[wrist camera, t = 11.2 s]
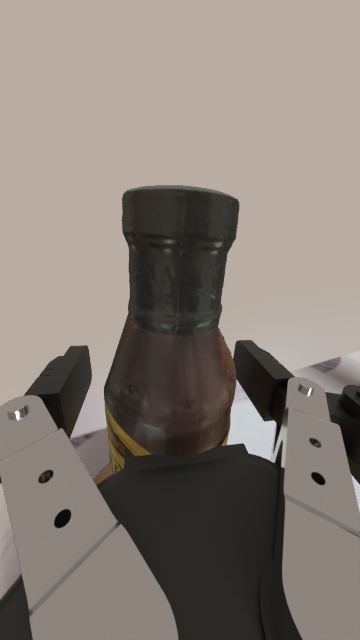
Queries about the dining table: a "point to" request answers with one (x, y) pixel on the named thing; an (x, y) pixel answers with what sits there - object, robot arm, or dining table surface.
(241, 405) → the dining table surface
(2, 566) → the dining table surface
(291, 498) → the robot arm
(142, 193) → the sauce bottle
